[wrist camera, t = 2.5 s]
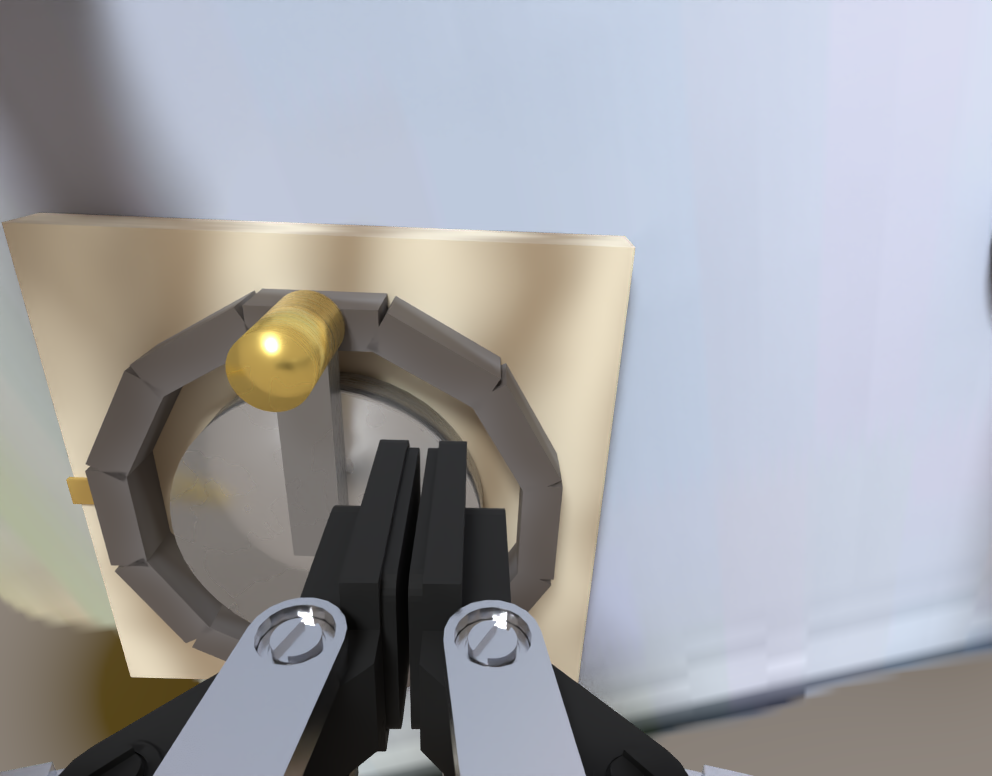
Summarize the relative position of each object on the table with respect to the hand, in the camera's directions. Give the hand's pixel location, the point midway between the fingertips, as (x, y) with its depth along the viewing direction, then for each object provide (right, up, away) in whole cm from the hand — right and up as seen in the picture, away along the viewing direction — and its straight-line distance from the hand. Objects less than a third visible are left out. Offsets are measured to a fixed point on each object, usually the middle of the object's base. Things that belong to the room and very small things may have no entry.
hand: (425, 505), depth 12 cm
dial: (-5, -1, +13) cm, 14 cm away
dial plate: (-5, -2, +16) cm, 17 cm away
